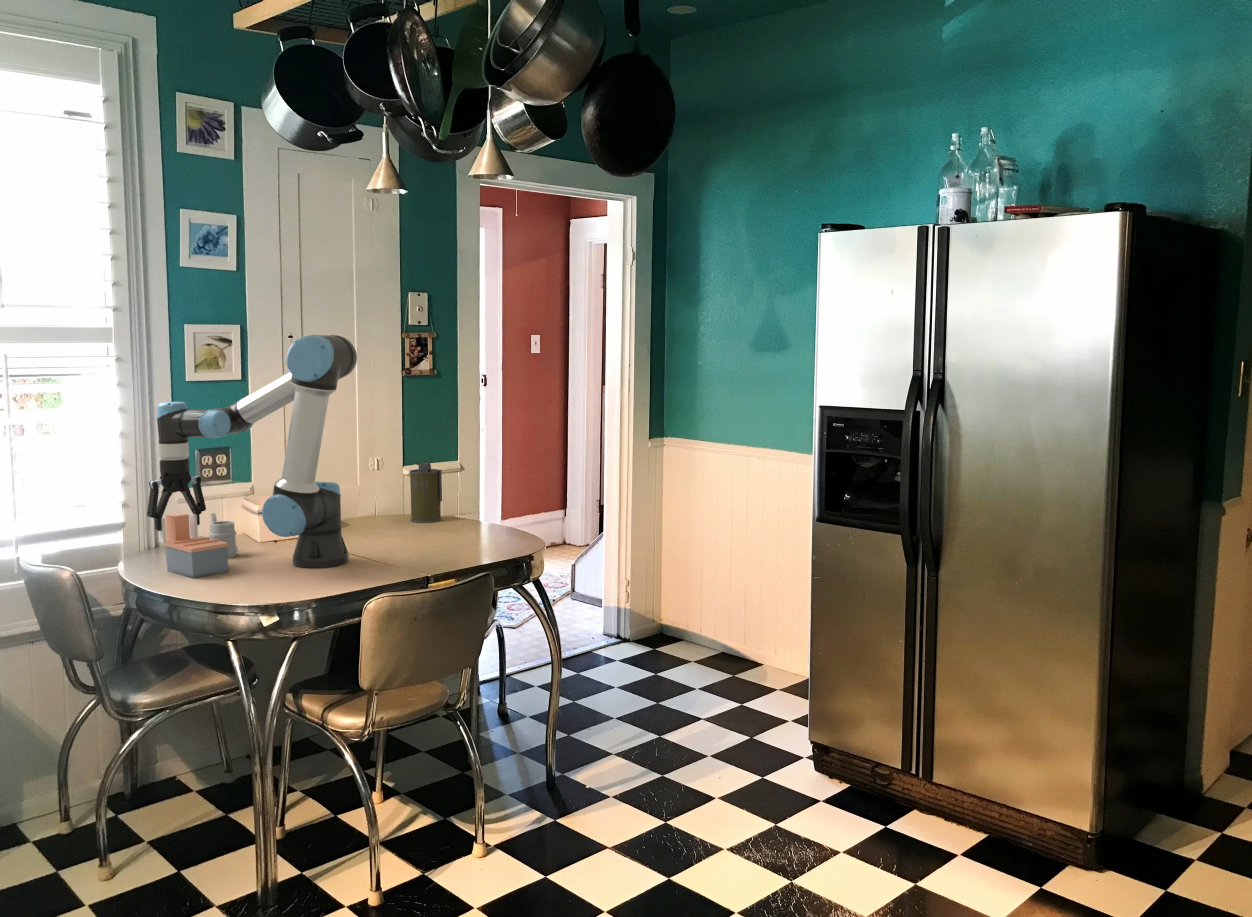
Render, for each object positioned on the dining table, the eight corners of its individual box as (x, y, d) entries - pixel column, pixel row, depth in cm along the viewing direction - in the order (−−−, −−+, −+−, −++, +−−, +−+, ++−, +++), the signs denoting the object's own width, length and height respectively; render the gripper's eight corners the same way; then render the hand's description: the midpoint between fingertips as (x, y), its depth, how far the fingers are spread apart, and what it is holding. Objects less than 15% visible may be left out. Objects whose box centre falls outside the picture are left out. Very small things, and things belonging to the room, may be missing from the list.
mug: (217, 560, 297) (215, 518, 295) (198, 554, 305) (196, 513, 303) (242, 556, 302) (240, 515, 301) (224, 550, 310) (222, 510, 309)
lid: (228, 548, 281) (227, 519, 280) (191, 554, 273) (189, 524, 272) (192, 539, 294) (191, 511, 293) (155, 544, 286) (153, 516, 285)
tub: (228, 571, 282) (227, 546, 281) (193, 578, 274) (191, 552, 273) (202, 564, 291) (200, 539, 290) (167, 570, 283) (165, 545, 282)
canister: (406, 522, 357) (404, 464, 354) (417, 517, 367) (415, 460, 364) (436, 523, 355) (435, 465, 352) (446, 518, 365) (445, 461, 363)
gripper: (203, 453, 296) (207, 532, 298) (129, 460, 280) (133, 543, 282) (217, 455, 291) (221, 535, 294) (142, 462, 275) (147, 547, 277)
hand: (178, 539), depth 288 cm, fingers open, 8 cm apart
